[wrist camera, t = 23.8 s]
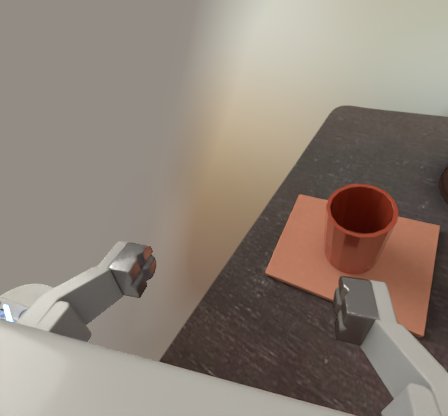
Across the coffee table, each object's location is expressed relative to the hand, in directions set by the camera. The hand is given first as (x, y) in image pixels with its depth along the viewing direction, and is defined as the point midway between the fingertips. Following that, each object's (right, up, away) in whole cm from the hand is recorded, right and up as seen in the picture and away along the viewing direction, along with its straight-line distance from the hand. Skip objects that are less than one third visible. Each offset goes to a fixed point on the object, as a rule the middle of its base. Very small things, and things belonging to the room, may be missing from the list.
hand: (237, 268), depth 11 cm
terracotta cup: (+16, -3, +23) cm, 28 cm away
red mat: (+16, -4, +23) cm, 29 cm away
